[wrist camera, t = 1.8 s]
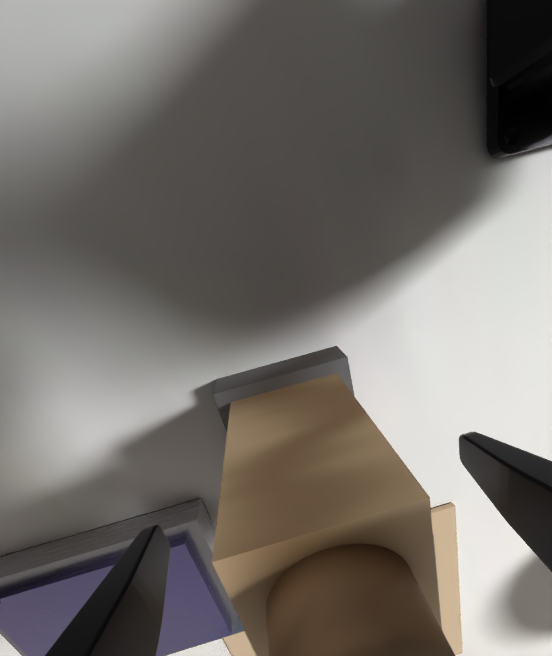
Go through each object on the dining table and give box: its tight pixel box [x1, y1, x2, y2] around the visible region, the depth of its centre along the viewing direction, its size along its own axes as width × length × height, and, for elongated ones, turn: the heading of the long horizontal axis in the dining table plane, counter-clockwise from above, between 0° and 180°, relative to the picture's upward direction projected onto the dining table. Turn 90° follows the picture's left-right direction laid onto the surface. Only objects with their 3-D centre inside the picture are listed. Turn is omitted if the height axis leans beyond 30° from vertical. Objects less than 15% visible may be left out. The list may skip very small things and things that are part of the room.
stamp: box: [212, 346, 455, 656], centre depth 7 cm, size 5×5×7 cm
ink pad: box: [0, 498, 245, 656], centre depth 12 cm, size 10×8×1 cm
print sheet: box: [223, 503, 462, 656], centre depth 15 cm, size 14×14×1 cm
